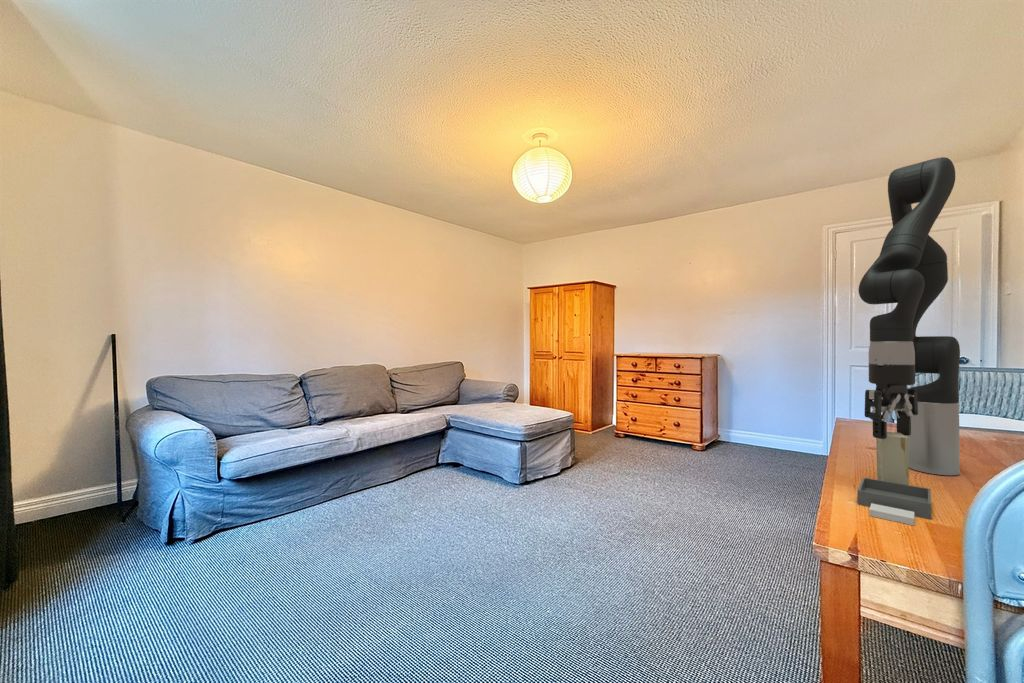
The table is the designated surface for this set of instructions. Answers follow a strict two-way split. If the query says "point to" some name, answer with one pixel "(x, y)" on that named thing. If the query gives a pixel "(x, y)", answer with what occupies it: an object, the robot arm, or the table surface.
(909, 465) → the robot arm
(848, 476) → the table surface
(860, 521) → the table surface
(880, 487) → the grey open tray
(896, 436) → the skincare box
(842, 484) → the table surface
